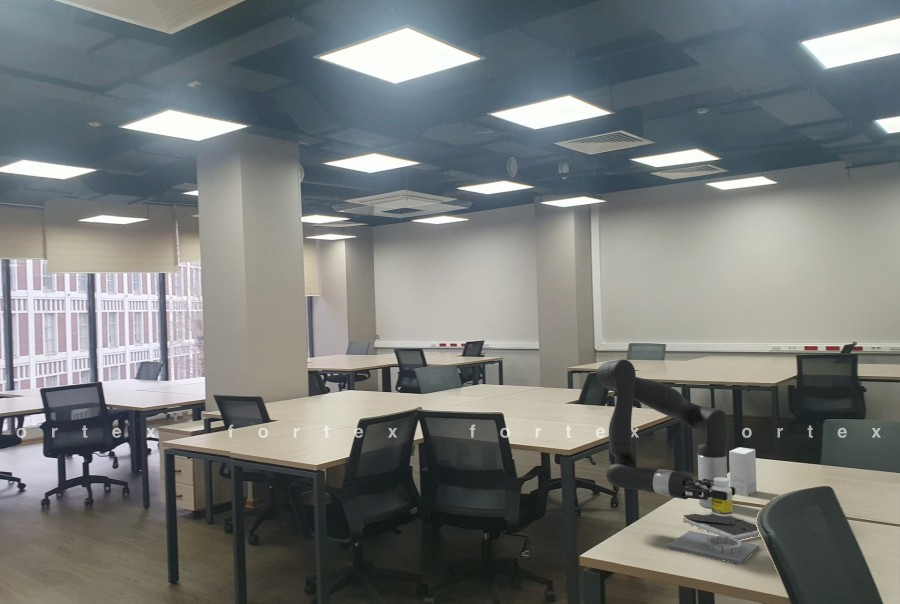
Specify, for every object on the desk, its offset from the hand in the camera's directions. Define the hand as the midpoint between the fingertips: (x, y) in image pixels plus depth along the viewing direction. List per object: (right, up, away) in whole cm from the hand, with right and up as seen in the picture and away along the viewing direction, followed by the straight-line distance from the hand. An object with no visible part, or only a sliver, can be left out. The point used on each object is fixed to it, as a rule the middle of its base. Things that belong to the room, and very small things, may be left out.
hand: (730, 493), depth 184 cm
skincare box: (+29, -16, +57) cm, 66 cm away
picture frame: (+8, -17, +20) cm, 28 cm away
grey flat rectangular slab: (-3, -17, +4) cm, 17 cm away
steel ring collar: (-1, -16, +2) cm, 17 cm away
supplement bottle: (-2, -6, +2) cm, 7 cm away
